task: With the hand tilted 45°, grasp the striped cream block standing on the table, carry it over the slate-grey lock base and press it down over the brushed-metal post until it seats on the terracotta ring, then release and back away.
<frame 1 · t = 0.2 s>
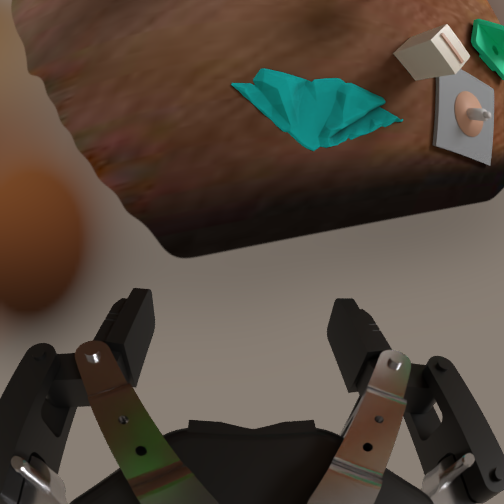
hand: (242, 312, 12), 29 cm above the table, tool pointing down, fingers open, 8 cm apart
lock base: (465, 113, 35), on the table
camera mount: (486, 51, 29), on the table
cloth: (320, 106, 35), on the table
striped cream block: (412, 58, 31), on the table
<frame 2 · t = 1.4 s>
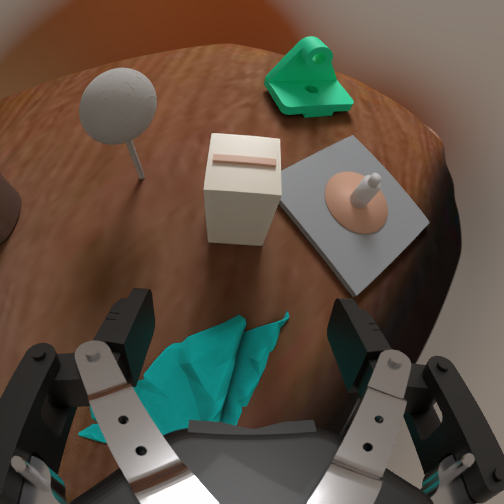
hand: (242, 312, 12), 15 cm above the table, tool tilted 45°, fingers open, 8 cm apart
lock base: (354, 205, 33), on the table
camera mount: (307, 102, 39), on the table
lollipop: (142, 177, 31), on the table
cloth: (180, 395, 24), on the table
striped cream block: (236, 219, 30), on the table
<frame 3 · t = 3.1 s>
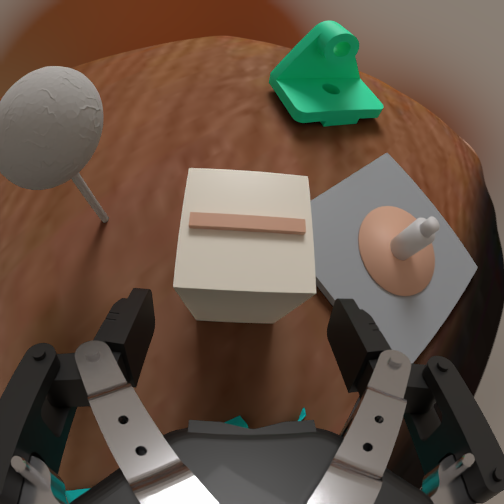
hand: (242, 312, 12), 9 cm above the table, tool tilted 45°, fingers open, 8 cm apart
lock base: (393, 253, 24), on the table
camera mount: (324, 105, 30), on the table
lollipop: (106, 220, 22), on the table
cloth: (169, 497, 15), on the table
striped cream block: (236, 284, 21), on the table
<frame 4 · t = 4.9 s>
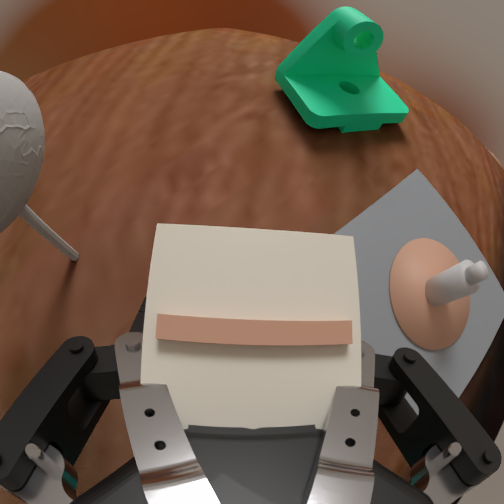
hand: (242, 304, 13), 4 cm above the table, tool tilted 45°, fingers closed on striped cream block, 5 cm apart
lock base: (426, 295, 18), on the table
camera mount: (340, 107, 25), on the table
lollipop: (76, 257, 17), on the table
striped cream block: (237, 347, 16), on the table, touching gripper
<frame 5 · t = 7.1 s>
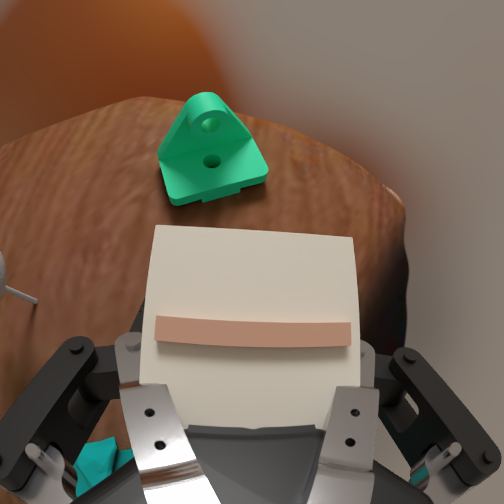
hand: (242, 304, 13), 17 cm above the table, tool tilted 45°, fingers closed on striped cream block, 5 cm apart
camera mount: (212, 174, 35), on the table
lollipop: (36, 301, 26), on the table
cloth: (82, 482, 20), on the table
striped cream block: (236, 348, 16), point 12 cm above the table, touching gripper
when the fingers open (6 cm above the table, at t = 9.7 s): striped cream block stays where it is, resting on lock base.
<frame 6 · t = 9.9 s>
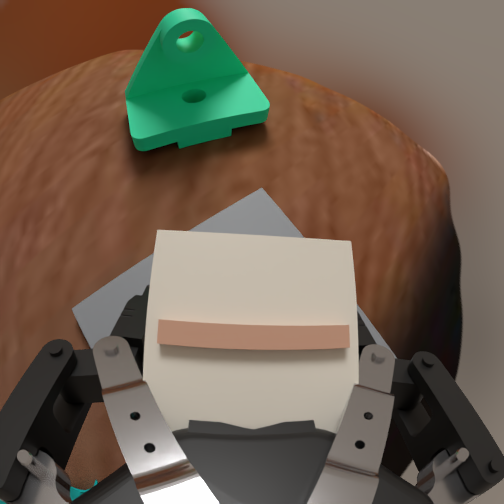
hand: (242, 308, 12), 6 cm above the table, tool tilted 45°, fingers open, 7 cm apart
lock base: (236, 348, 17), on the table
camera mount: (195, 117, 25), on the table
striped cream block: (237, 349, 16), point 1 cm above the table, touching lock base
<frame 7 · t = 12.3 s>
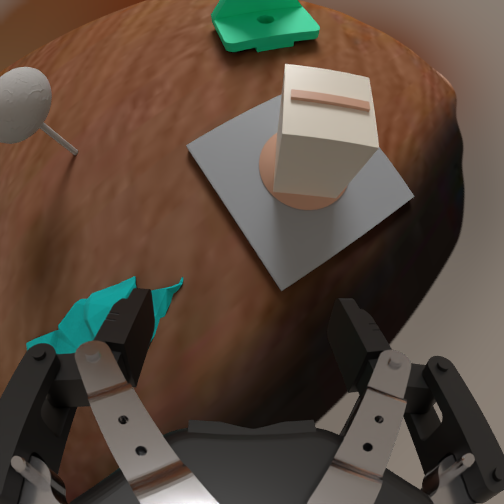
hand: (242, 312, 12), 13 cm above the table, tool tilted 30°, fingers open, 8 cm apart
lock base: (303, 170, 26), on the table
camera mount: (265, 34, 29), on the table
lollipop: (76, 153, 27), on the table
cloth: (89, 348, 25), on the table
striped cream block: (305, 165, 25), point 1 cm above the table, touching lock base
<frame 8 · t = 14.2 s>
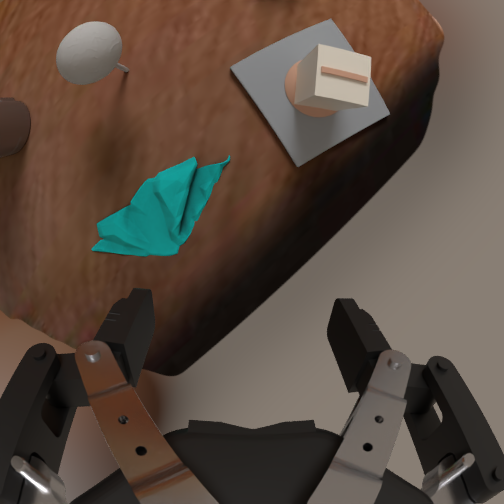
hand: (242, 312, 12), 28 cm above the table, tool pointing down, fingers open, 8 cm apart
lock base: (314, 88, 33), on the table
lollipop: (127, 70, 30), on the table
cloth: (155, 212, 39), on the table
striped cream block: (317, 87, 31), point 1 cm above the table, touching lock base
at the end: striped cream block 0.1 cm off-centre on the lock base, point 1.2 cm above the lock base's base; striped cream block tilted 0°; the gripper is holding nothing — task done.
